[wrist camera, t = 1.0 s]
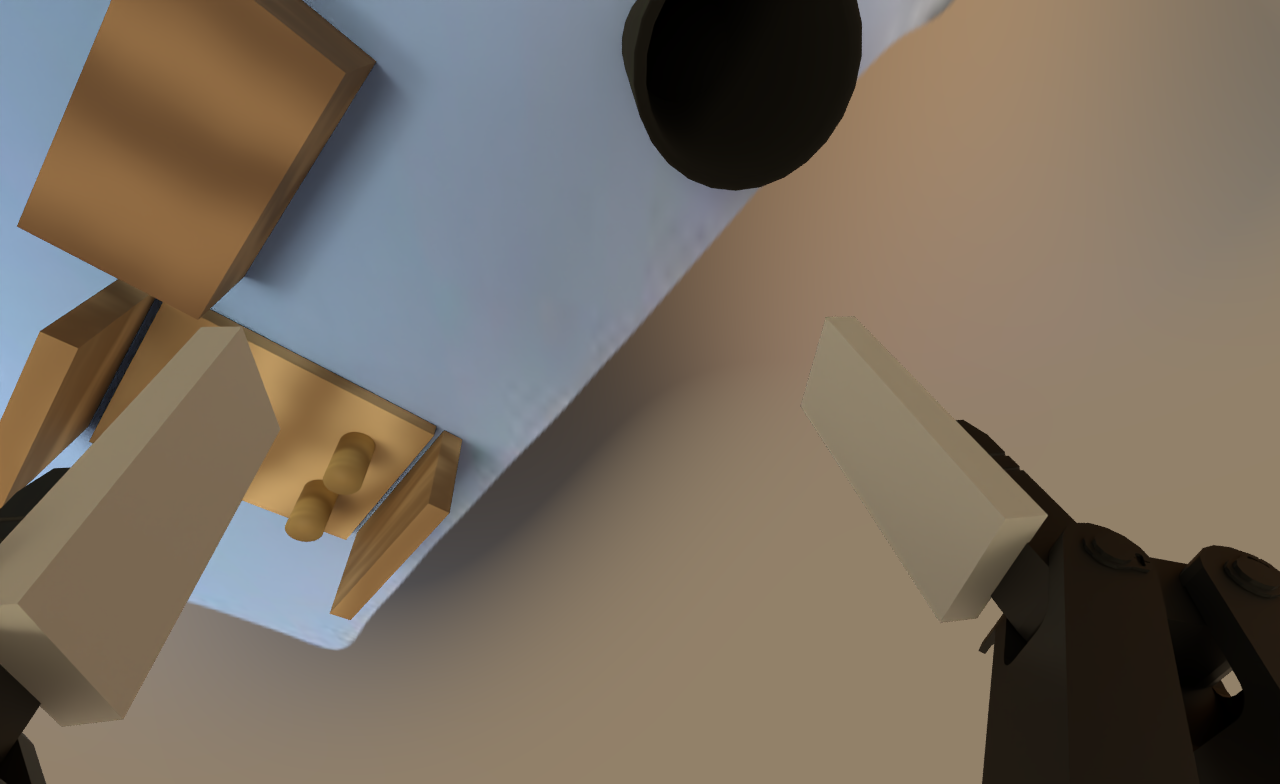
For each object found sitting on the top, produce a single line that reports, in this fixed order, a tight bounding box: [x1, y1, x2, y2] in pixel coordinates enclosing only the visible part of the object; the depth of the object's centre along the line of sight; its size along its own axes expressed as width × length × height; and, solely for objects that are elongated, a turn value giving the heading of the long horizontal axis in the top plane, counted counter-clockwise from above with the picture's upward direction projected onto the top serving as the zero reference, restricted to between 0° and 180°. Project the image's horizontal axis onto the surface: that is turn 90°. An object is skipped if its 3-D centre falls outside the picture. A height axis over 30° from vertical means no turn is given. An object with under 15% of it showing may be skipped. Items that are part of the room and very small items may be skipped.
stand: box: [0, 279, 462, 620], centre depth 34 cm, size 20×12×7 cm, turn 48°
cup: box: [622, 0, 862, 191], centre depth 24 cm, size 8×8×12 cm
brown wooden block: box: [17, 0, 376, 320], centre depth 26 cm, size 14×7×6 cm, turn 137°
